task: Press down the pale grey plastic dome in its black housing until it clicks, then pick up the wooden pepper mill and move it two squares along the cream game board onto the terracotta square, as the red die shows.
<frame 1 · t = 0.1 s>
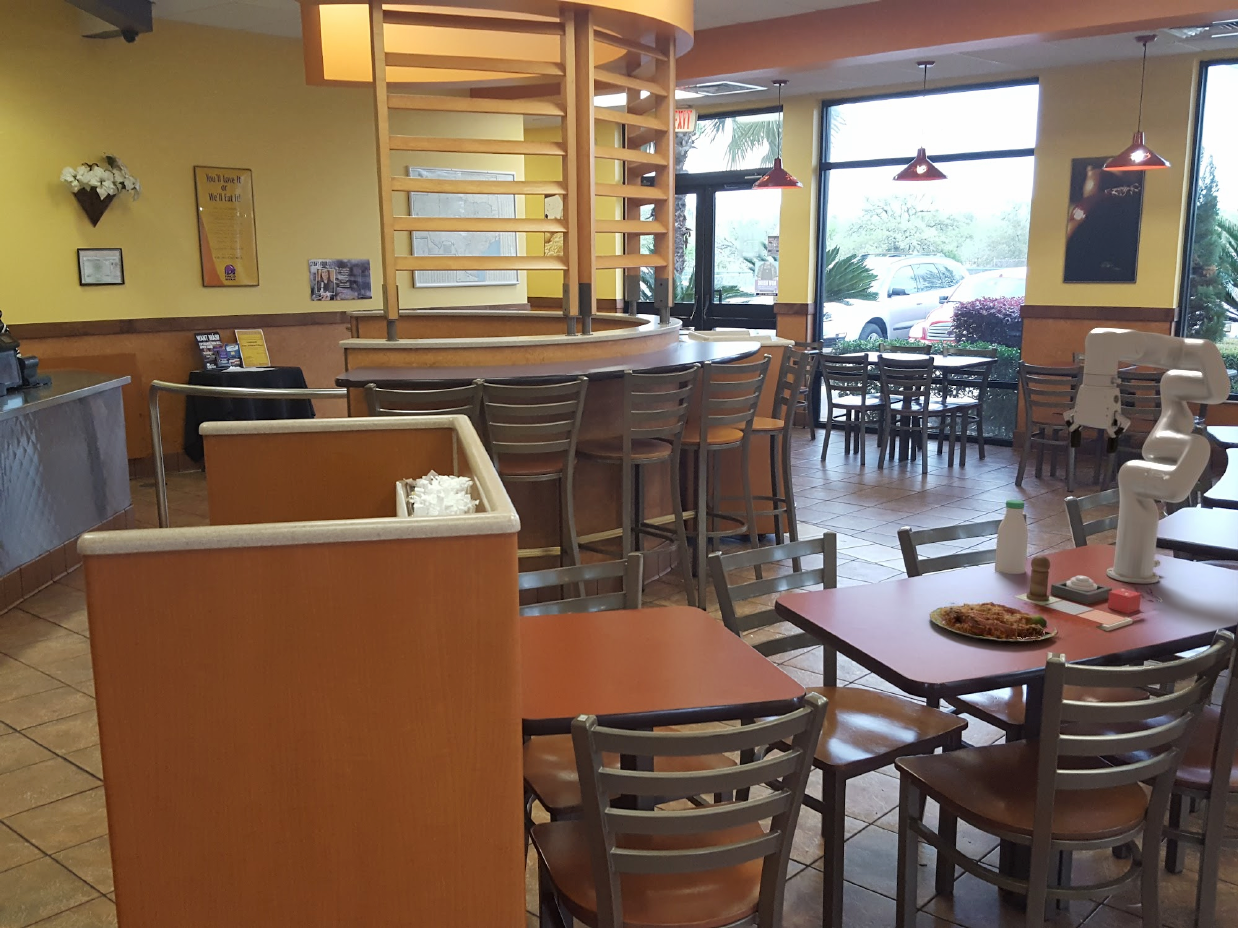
hand: (1093, 450, 263), 37 cm above the table, tool pointing down, fingers open, 9 cm apart
dome housing: (1080, 599, 263), on the table
board: (1068, 611, 254), on the table
rice dish: (991, 629, 242), on the table
dome: (1081, 582, 262), point 4 cm above the table, slide at 0.0 cm
die: (1123, 612, 254), on the table
milk bottle: (1009, 574, 285), on the table
wooden pepper mill: (1037, 598, 260), point 1 cm above the table, touching board
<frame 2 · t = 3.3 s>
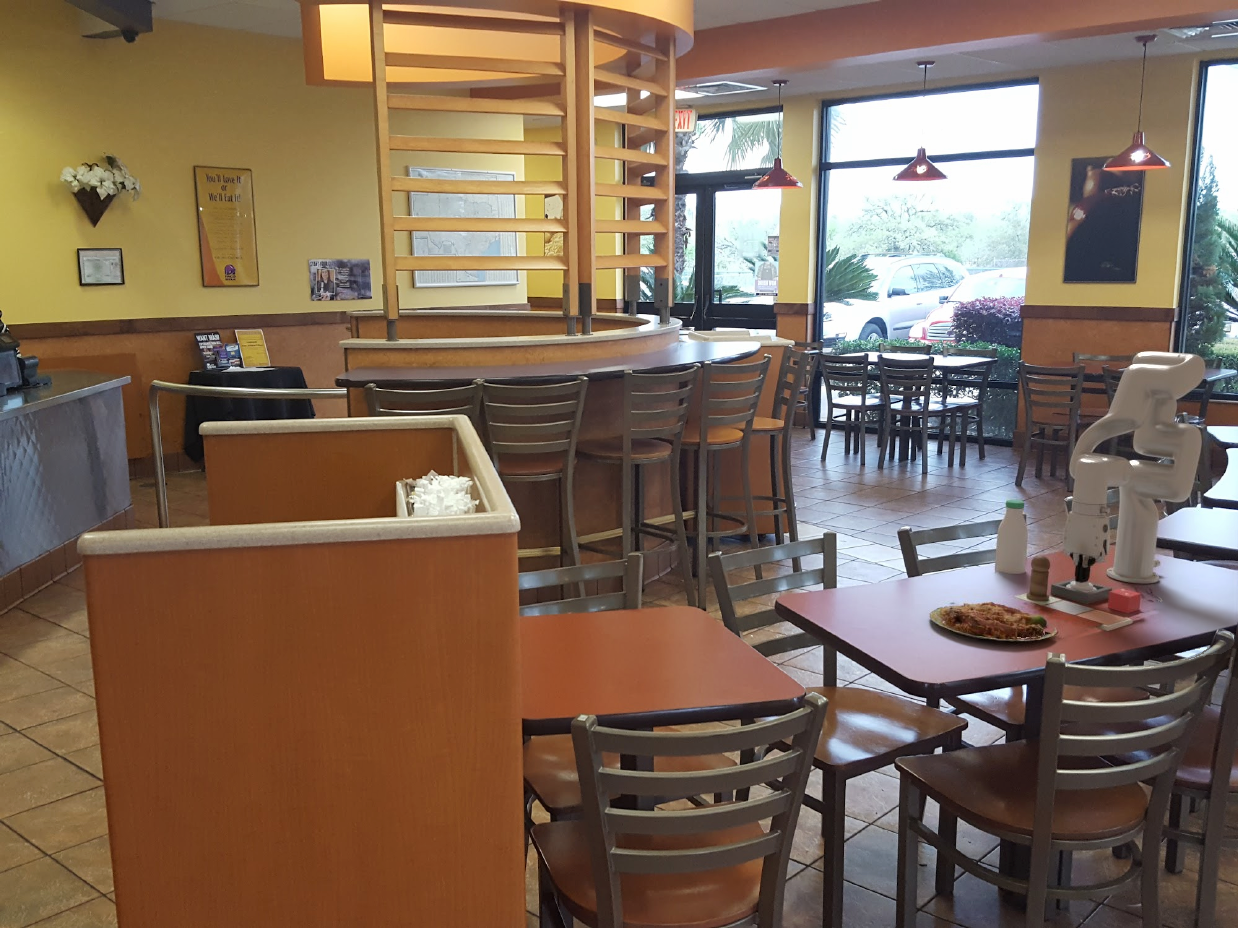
hand: (1081, 581, 262), 5 cm above the table, tool pointing down, fingers closed
dome: (1081, 586, 263), point 3 cm above the table, slide at 1.0 cm
everything else where it was.
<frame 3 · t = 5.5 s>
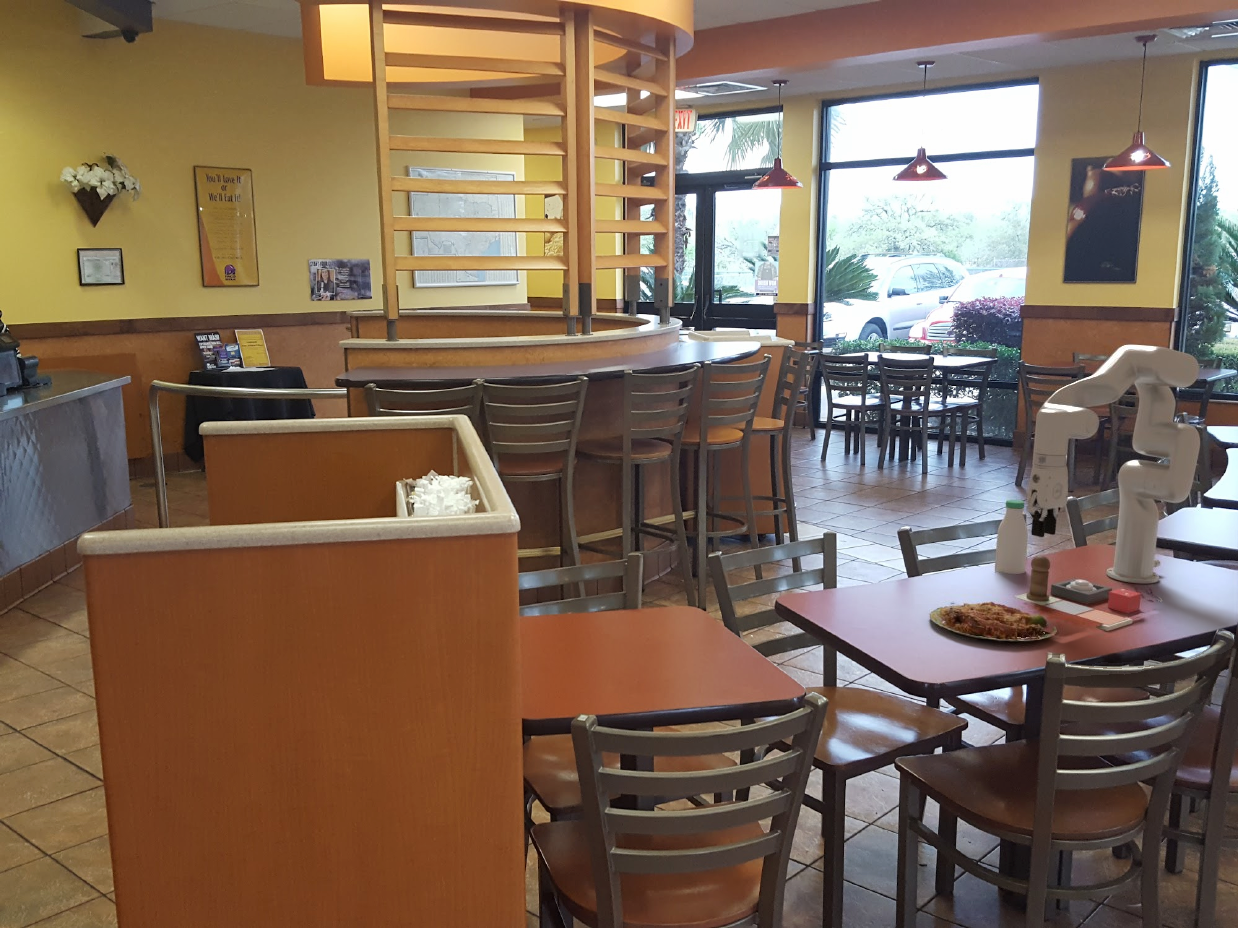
hand: (1043, 534, 258), 17 cm above the table, tool pointing down, fingers open, 3 cm apart
nothing on the table moved.
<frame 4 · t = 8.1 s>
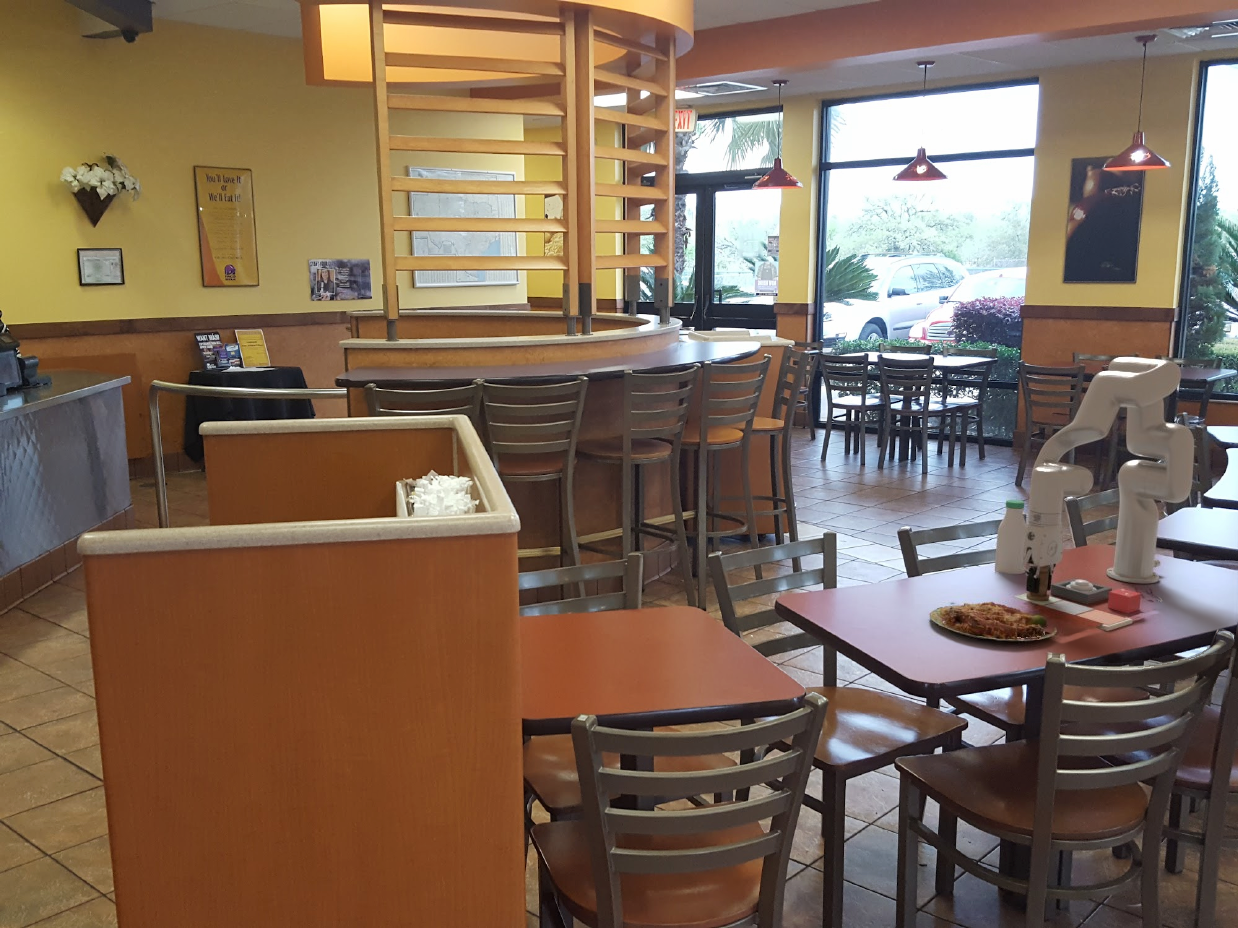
hand: (1038, 589, 260), 3 cm above the table, tool pointing down, fingers closed on wooden pepper mill, 4 cm apart
wooden pepper mill: (1037, 598, 260), point 1 cm above the table, touching board, gripper
everything else where it was.
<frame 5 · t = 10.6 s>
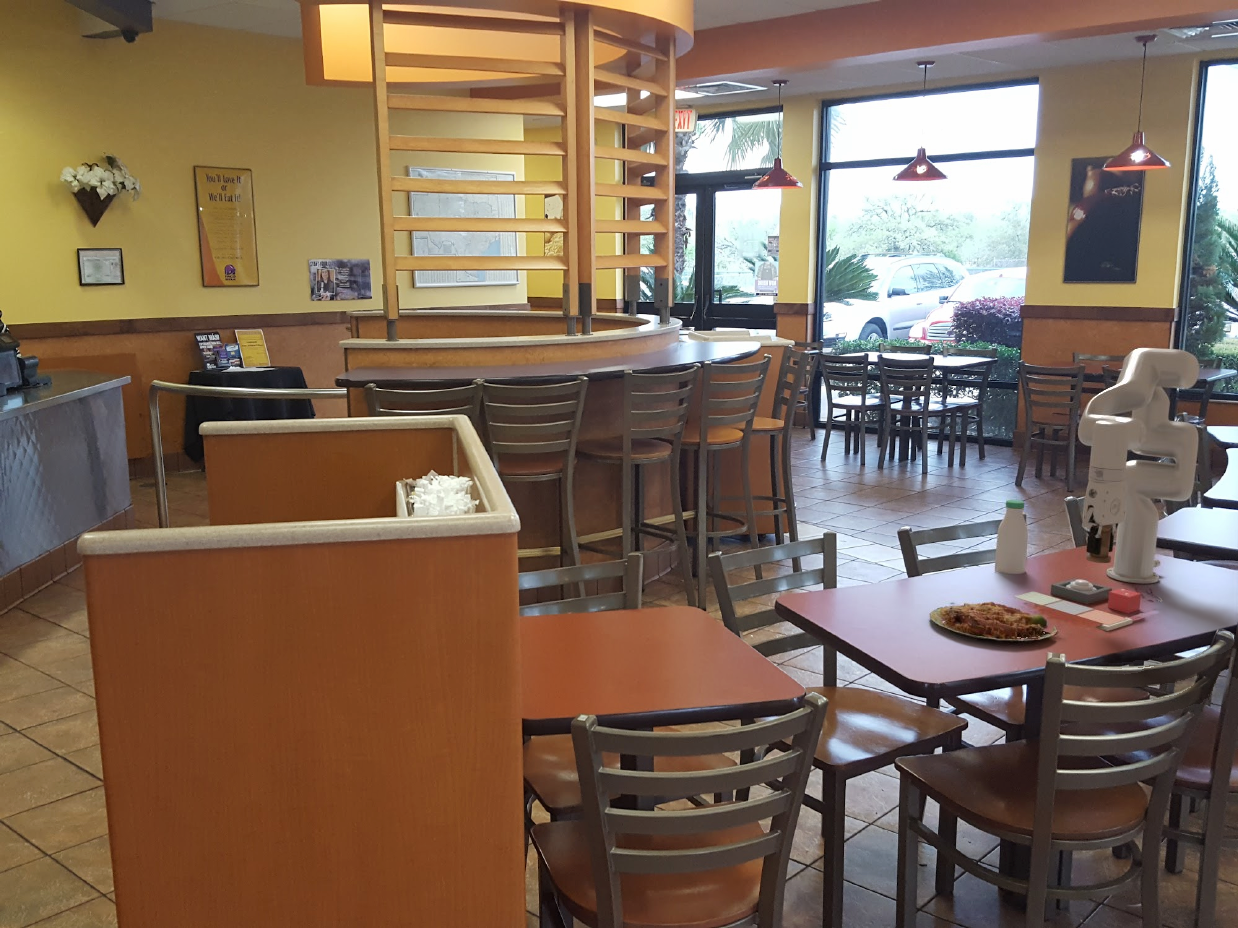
hand: (1099, 551, 246), 16 cm above the table, tool pointing down, fingers closed on wooden pepper mill, 4 cm apart
wooden pepper mill: (1098, 560, 246), point 14 cm above the table, touching gripper
everything else where it was.
when the fingers open (5 cm above the table, at t = 13.3 s): wooden pepper mill drops 1 cm, resting on board.
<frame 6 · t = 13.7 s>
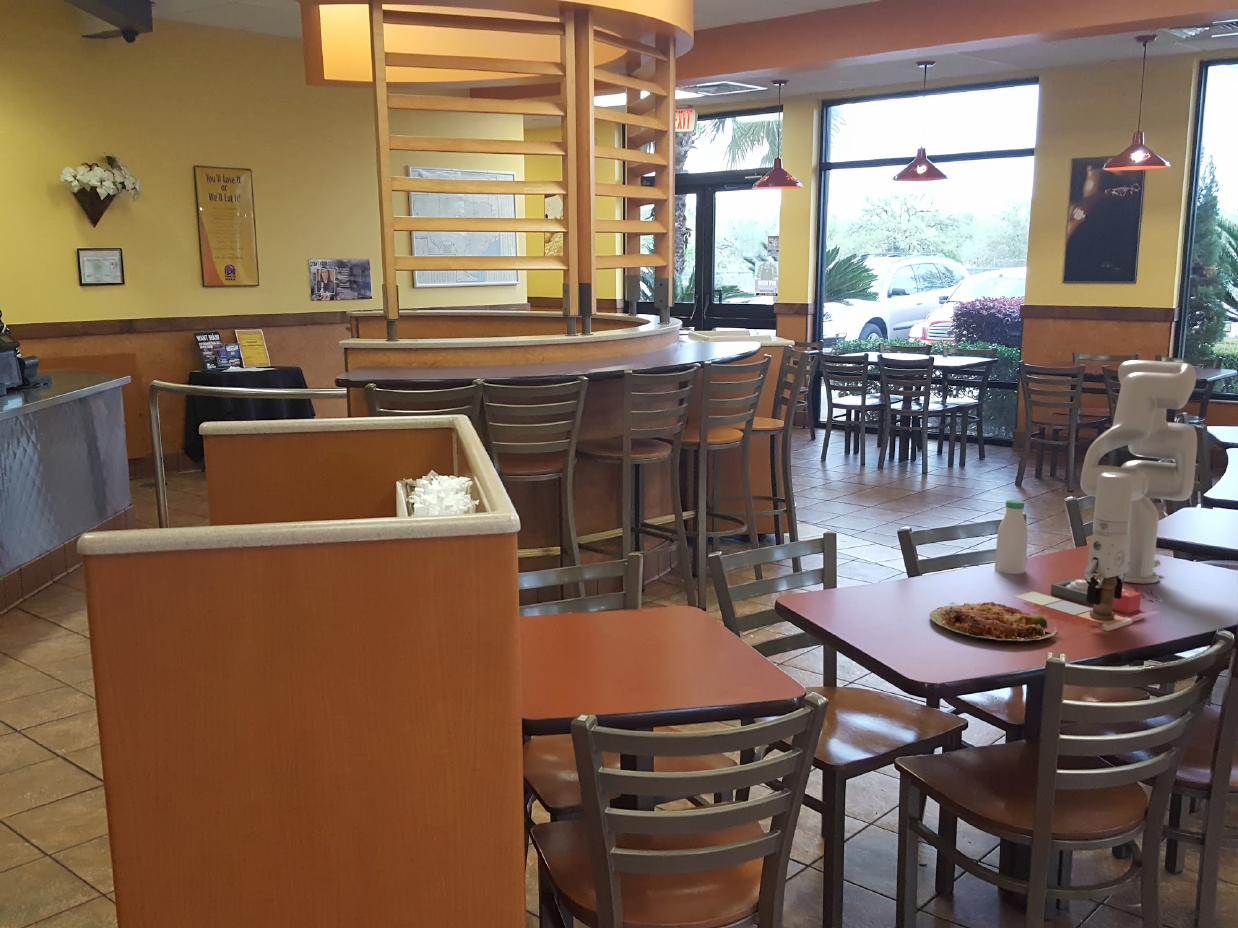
hand: (1103, 599, 246), 5 cm above the table, tool pointing down, fingers open, 7 cm apart
wooden pepper mill: (1101, 616, 247), point 1 cm above the table, touching board
everything else where it was.
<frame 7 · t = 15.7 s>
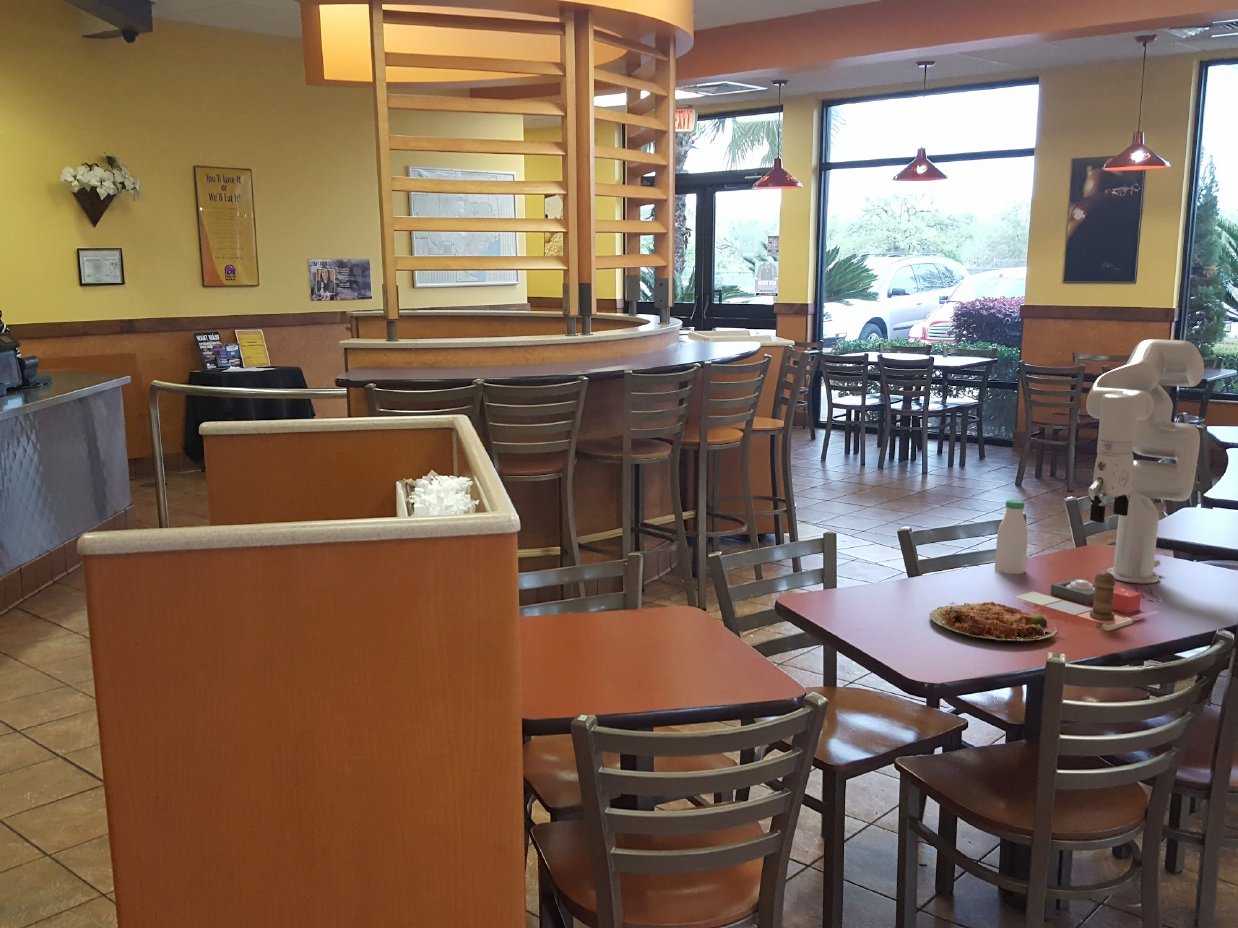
hand: (1108, 518, 250), 23 cm above the table, tool pointing down, fingers open, 9 cm apart
nothing on the table moved.
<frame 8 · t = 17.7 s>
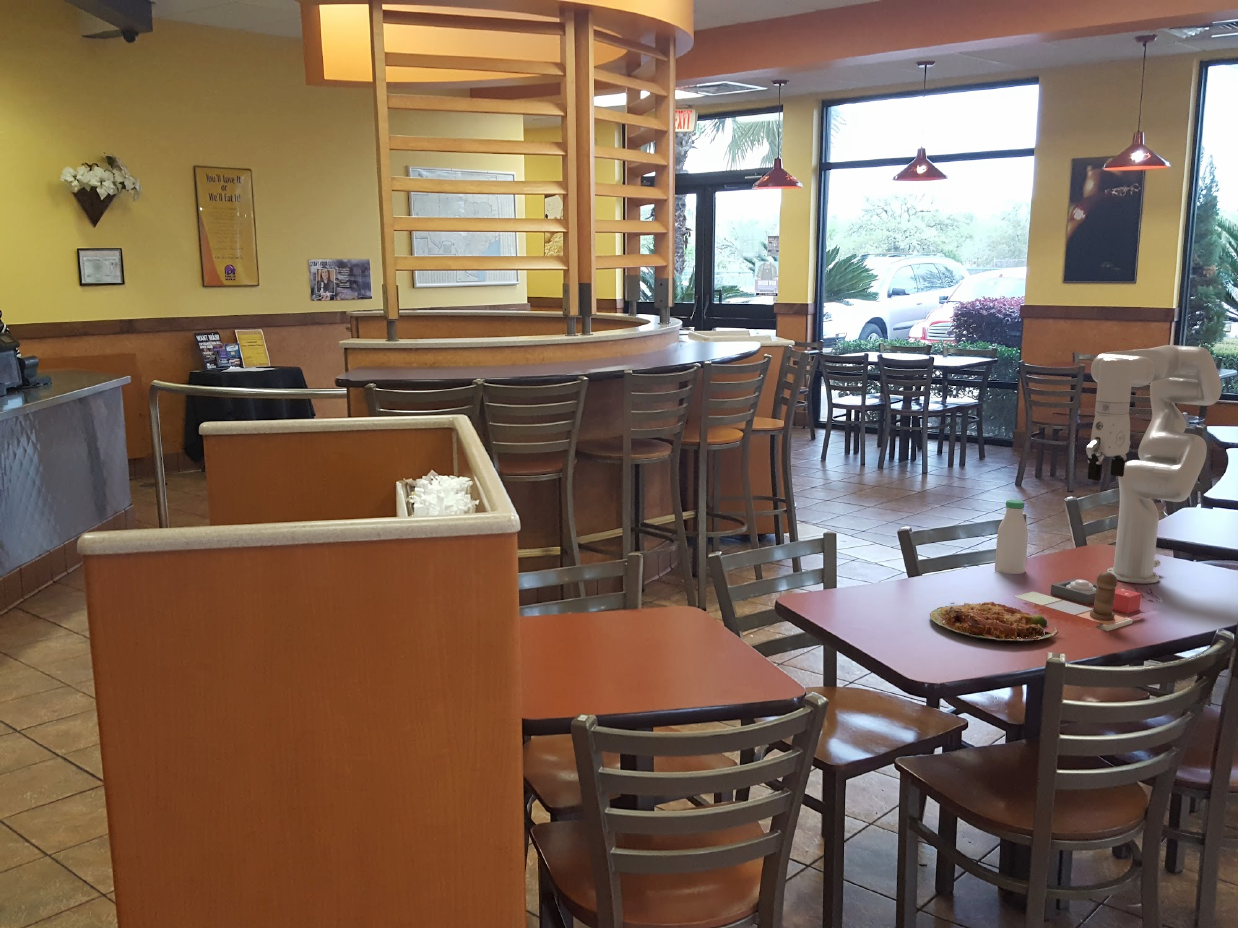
hand: (1105, 477, 261), 30 cm above the table, tool pointing down, fingers open, 9 cm apart
nothing on the table moved.
at the end: dome slide at 1.1 cm; wooden pepper mill 0.1 cm from the target spot on the board, point 1.2 cm above the board's base; wooden pepper mill tilted 2° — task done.
